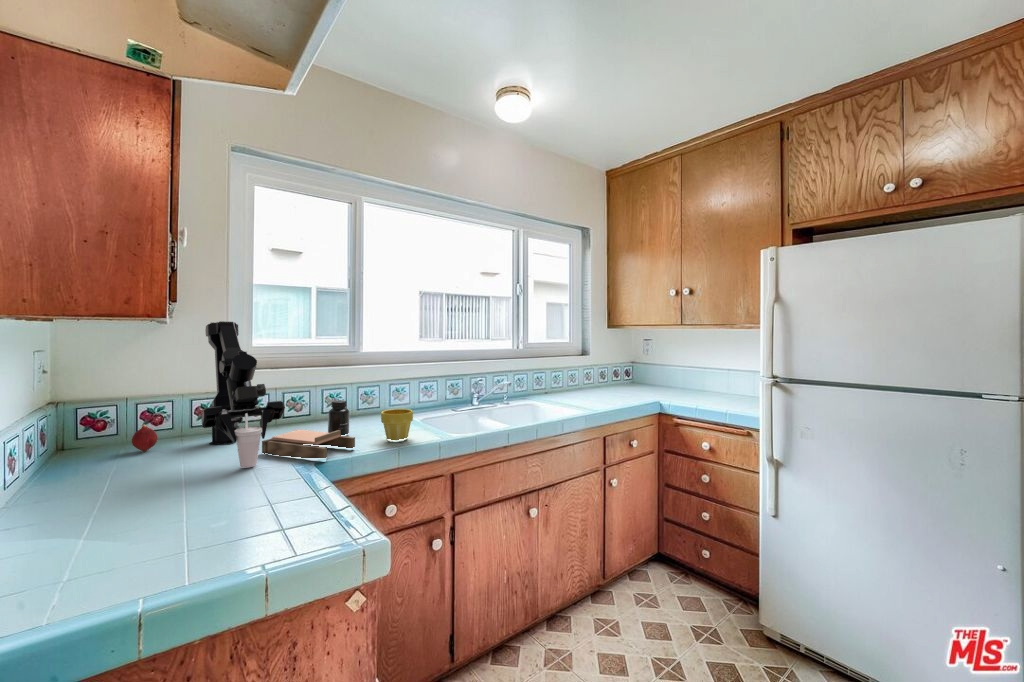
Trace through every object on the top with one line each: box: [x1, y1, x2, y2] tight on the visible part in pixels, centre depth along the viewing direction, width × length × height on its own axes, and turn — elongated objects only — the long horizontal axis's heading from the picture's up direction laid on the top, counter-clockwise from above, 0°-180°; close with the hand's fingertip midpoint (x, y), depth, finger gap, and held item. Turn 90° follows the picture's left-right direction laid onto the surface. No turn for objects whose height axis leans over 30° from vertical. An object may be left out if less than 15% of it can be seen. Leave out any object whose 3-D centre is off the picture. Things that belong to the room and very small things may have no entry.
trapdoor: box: [271, 429, 341, 445], centre depth 128 cm, size 16×10×5 cm, turn 72°
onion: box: [131, 424, 159, 453], centre depth 126 cm, size 6×6×8 cm
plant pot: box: [380, 408, 414, 440], centre depth 143 cm, size 10×10×10 cm
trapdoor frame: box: [261, 435, 356, 458], centre depth 128 cm, size 22×13×4 cm, turn 72°
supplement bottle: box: [327, 400, 350, 435], centre depth 148 cm, size 7×7×12 cm
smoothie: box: [234, 413, 262, 469], centre depth 113 cm, size 6×6×14 cm
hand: (249, 439), depth 112 cm, fingers closed on smoothie, 6 cm apart
